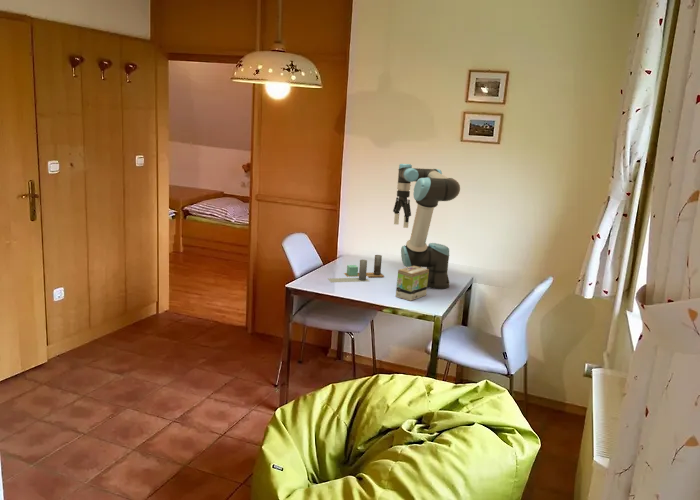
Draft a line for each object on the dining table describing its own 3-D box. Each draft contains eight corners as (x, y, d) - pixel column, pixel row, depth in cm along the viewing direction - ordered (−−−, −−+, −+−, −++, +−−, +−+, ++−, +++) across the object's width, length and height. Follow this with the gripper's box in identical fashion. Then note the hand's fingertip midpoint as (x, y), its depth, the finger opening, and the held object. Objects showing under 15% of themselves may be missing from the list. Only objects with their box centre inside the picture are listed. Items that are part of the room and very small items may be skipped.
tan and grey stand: (383, 277, 353) (385, 257, 350) (347, 278, 346) (348, 257, 344) (379, 273, 359) (381, 254, 357) (343, 274, 353) (344, 254, 350)
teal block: (357, 275, 349) (358, 267, 348) (349, 276, 348) (349, 267, 346) (355, 273, 354) (355, 265, 353) (346, 273, 352) (347, 265, 351)
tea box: (411, 301, 313) (413, 273, 310) (395, 296, 319) (397, 269, 316) (427, 295, 325) (429, 268, 321) (411, 291, 331) (413, 264, 327)
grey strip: (369, 283, 340) (370, 262, 337) (330, 284, 334) (331, 262, 331) (365, 279, 347) (366, 258, 344) (327, 280, 340) (328, 259, 338)
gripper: (418, 192, 351) (415, 229, 355) (400, 188, 375) (397, 223, 378) (406, 191, 349) (403, 229, 352) (389, 188, 372) (386, 222, 375)
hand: (400, 226), depth 365 cm, fingers open, 13 cm apart
